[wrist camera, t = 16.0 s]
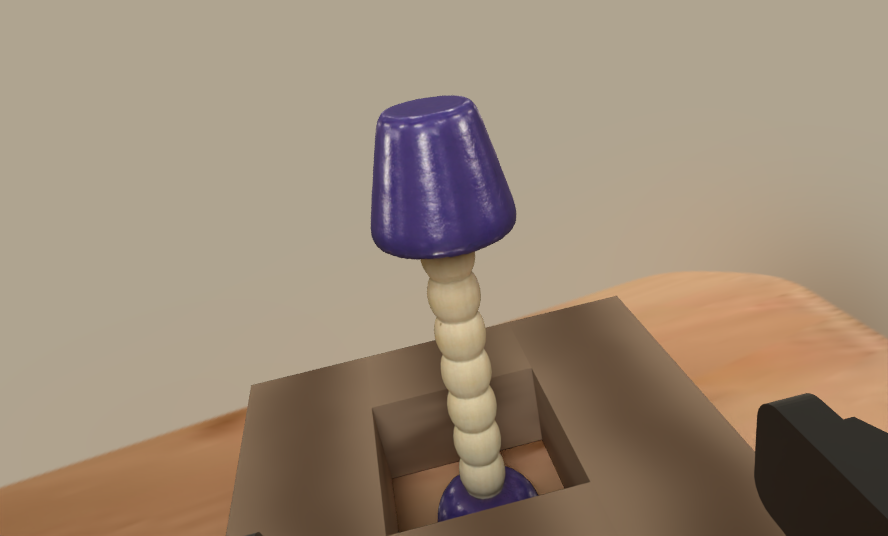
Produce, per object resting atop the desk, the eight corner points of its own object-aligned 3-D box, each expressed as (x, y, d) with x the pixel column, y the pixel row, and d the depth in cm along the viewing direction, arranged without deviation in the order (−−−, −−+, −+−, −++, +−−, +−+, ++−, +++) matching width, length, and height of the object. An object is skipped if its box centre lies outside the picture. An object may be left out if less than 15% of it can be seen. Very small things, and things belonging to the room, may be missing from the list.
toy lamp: (486, 458, 30) (412, 85, 22) (579, 497, 27) (530, 82, 20) (417, 534, 27) (306, 129, 19) (515, 587, 24) (427, 134, 16)
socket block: (243, 786, 19) (197, 705, 18) (275, 450, 33) (251, 385, 31) (815, 621, 21) (824, 530, 19) (621, 362, 34) (616, 295, 32)
